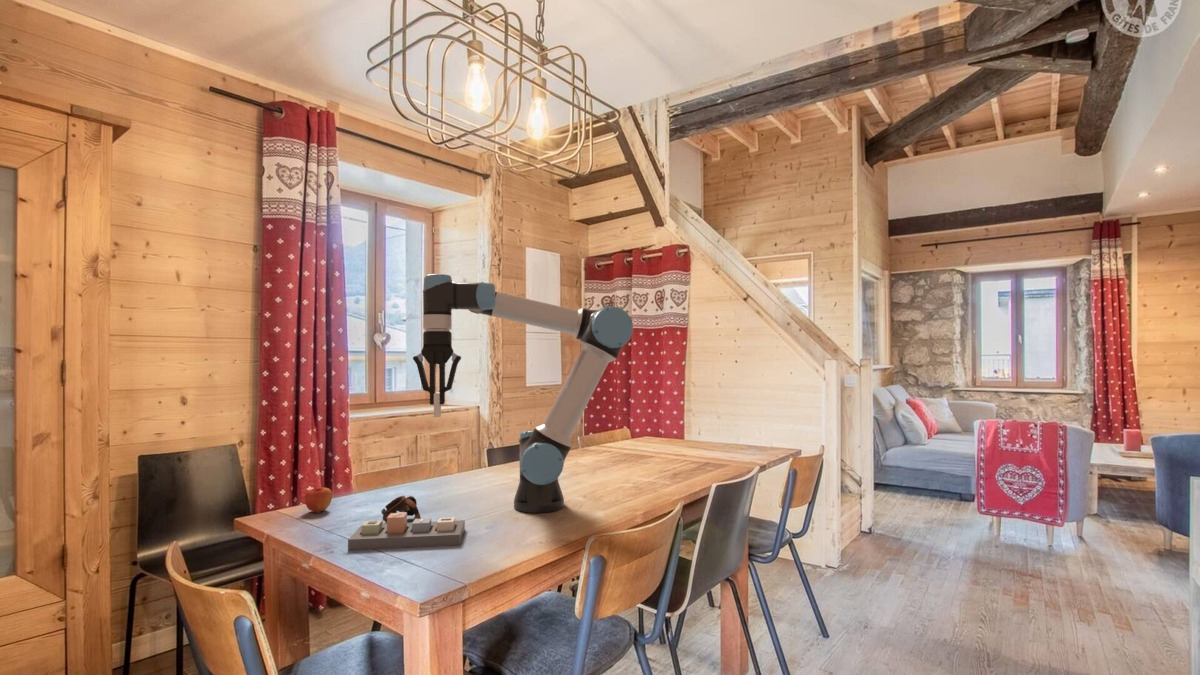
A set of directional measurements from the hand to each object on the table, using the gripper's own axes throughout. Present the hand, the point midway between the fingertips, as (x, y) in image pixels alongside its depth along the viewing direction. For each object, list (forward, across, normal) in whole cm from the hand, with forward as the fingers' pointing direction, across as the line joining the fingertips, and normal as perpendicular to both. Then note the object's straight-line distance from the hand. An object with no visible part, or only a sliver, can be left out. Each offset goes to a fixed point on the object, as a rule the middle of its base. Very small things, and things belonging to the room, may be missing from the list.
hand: (437, 416), depth 158 cm
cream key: (+29, -4, +12) cm, 32 cm away
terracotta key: (+27, +8, +12) cm, 31 cm away
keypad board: (+29, +5, +12) cm, 32 cm away
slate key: (+29, +2, +12) cm, 31 cm away
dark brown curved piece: (+30, +10, -4) cm, 31 cm away
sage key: (+29, +14, +12) cm, 34 cm away
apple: (+30, +37, -18) cm, 51 cm away
